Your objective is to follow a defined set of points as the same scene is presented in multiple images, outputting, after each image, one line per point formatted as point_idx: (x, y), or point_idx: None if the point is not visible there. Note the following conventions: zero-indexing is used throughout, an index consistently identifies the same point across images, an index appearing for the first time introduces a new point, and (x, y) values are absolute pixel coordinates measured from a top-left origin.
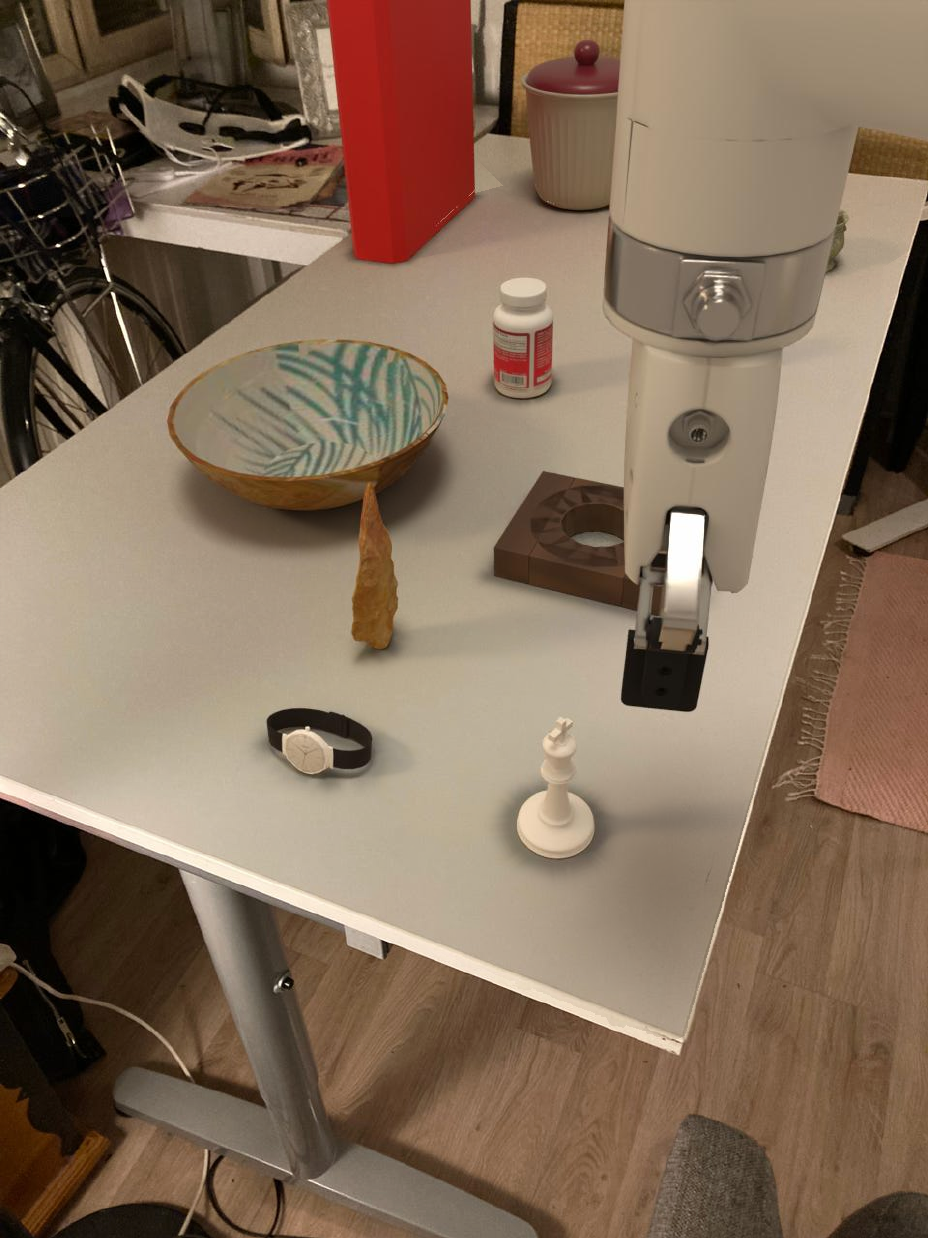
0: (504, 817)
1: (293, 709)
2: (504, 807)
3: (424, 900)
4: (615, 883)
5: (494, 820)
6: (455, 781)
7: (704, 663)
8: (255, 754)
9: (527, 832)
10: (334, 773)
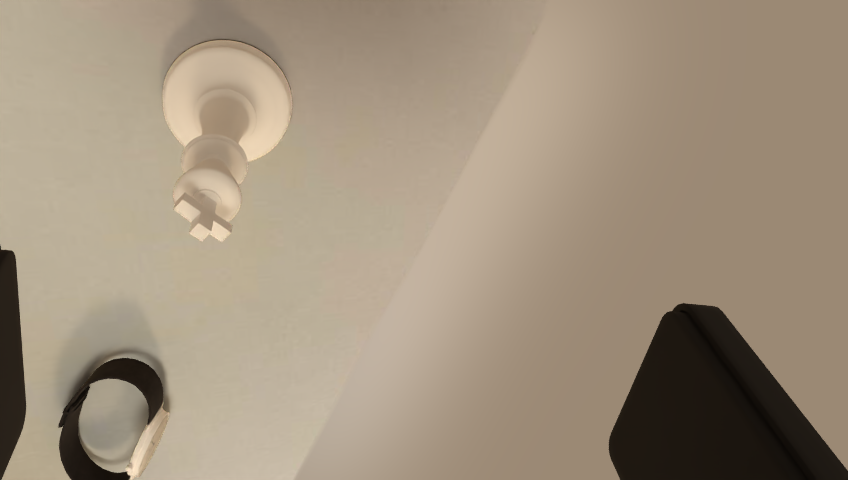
0: None
1: (67, 469)
2: None
3: (361, 269)
4: (335, 15)
5: None
6: (151, 244)
7: (821, 441)
8: None
9: (258, 153)
10: None
